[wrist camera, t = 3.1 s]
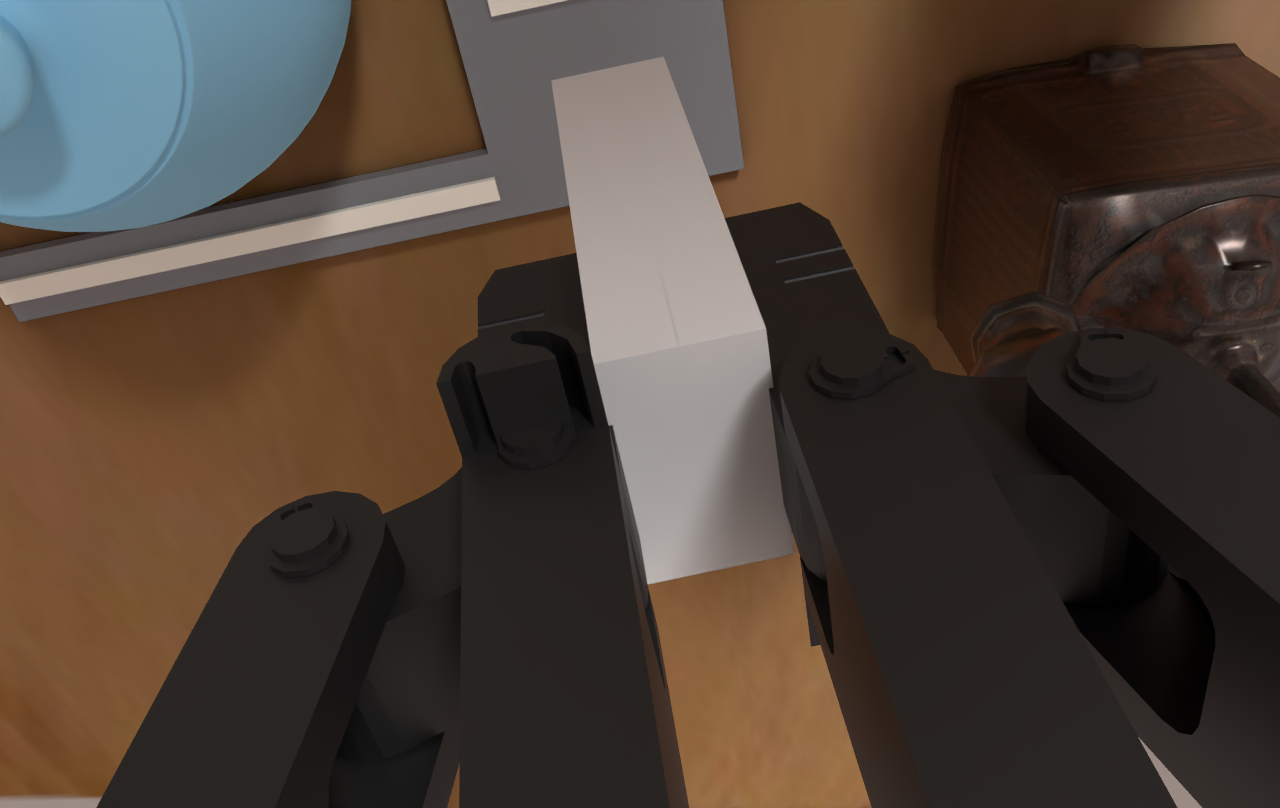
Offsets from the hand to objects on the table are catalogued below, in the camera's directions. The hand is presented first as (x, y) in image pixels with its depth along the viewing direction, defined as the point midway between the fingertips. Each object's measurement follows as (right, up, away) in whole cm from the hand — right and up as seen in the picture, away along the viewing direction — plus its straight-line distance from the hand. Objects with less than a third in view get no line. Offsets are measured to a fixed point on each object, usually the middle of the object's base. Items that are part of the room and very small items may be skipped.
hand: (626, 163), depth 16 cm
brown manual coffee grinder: (+14, +5, +27) cm, 31 cm away
